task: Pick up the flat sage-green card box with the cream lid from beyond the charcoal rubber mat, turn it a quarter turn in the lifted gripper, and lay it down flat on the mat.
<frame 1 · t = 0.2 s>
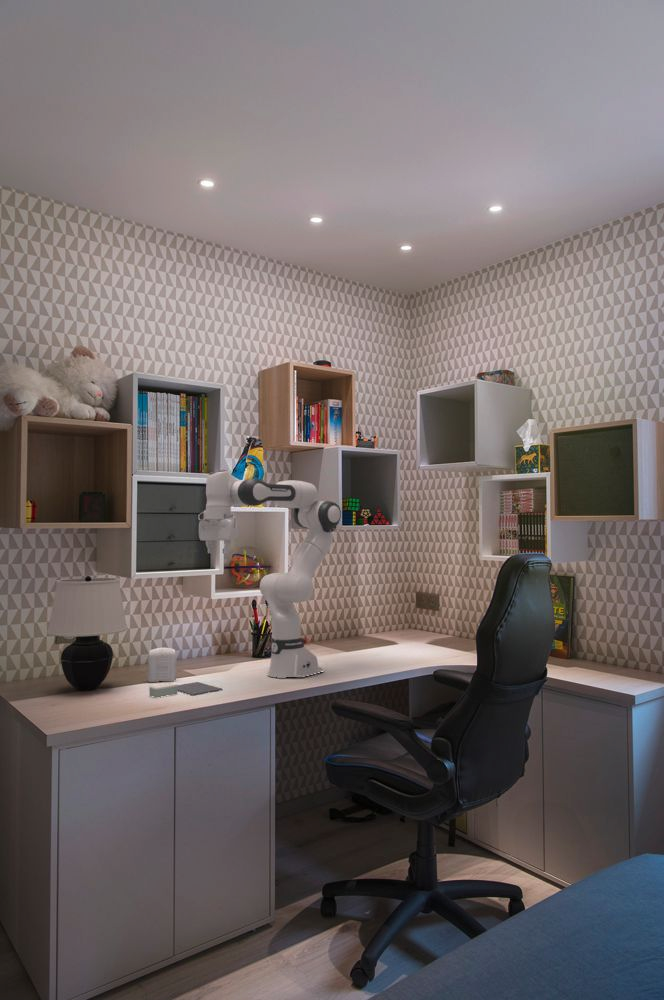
hand: (218, 553, 252), 48 cm above the table, tool pointing down, fingers open, 8 cm apart
table lamp: (87, 690, 248), on the table
card box: (163, 695, 239), on the table
white upright rounded block: (162, 681, 262), on the table
desk mat: (195, 689, 248), on the table
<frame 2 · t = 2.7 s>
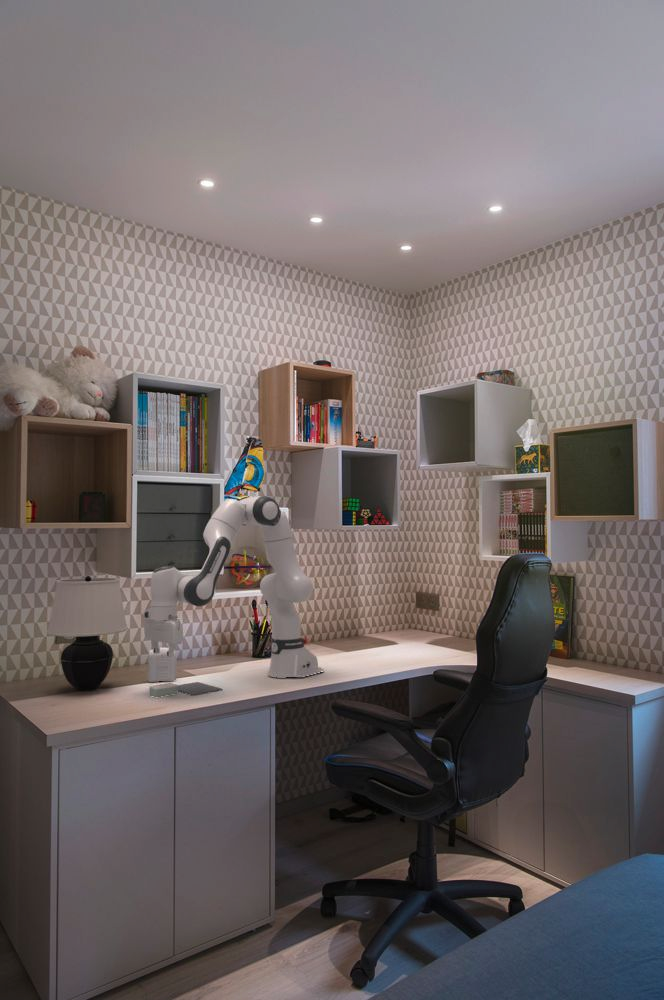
hand: (163, 654, 240), 13 cm above the table, tool pointing down, fingers open, 8 cm apart
nothing on the table moved.
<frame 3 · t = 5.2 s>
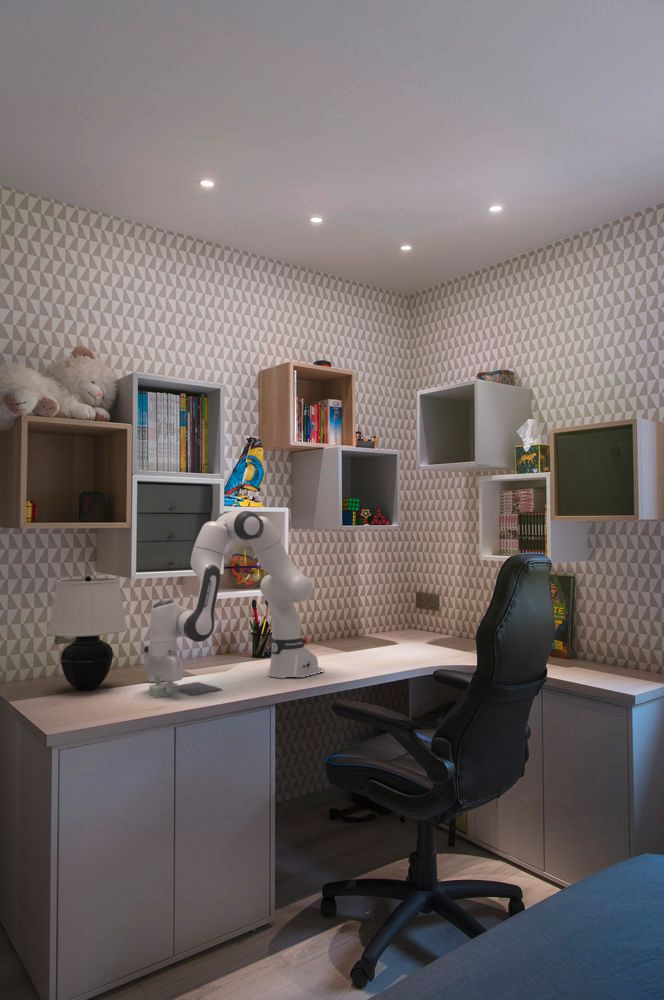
hand: (163, 690, 239), 2 cm above the table, tool pointing down, fingers closed on card box, 4 cm apart
card box: (163, 695, 239), on the table, touching gripper
everything else where it was.
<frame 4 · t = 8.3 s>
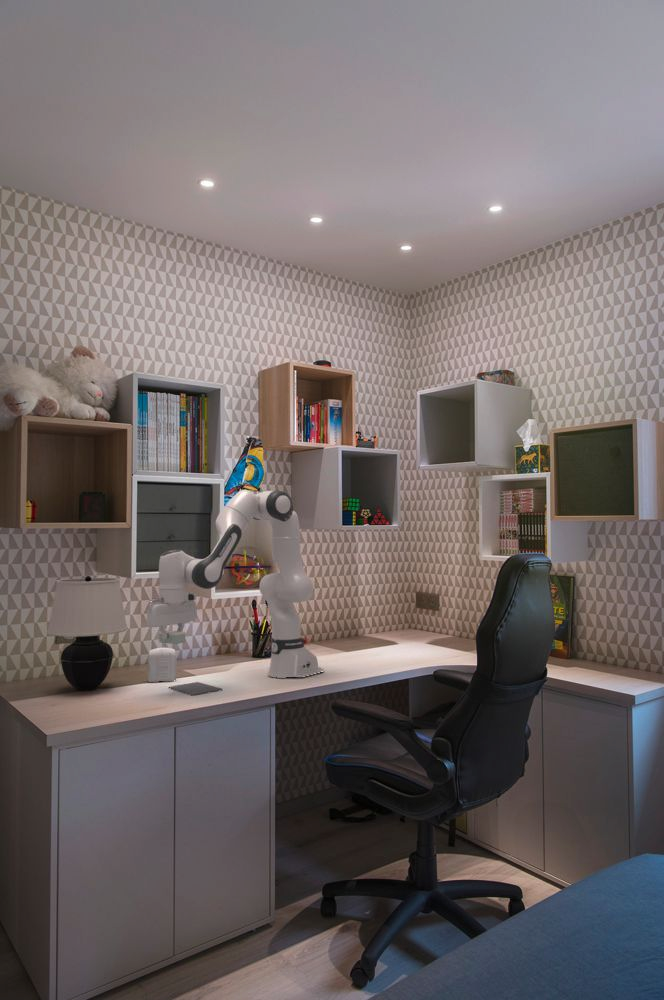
hand: (172, 637, 242), 19 cm above the table, tool pointing down, fingers closed on card box, 4 cm apart
card box: (172, 642, 242), point 17 cm above the table, touching gripper
everything else where it was.
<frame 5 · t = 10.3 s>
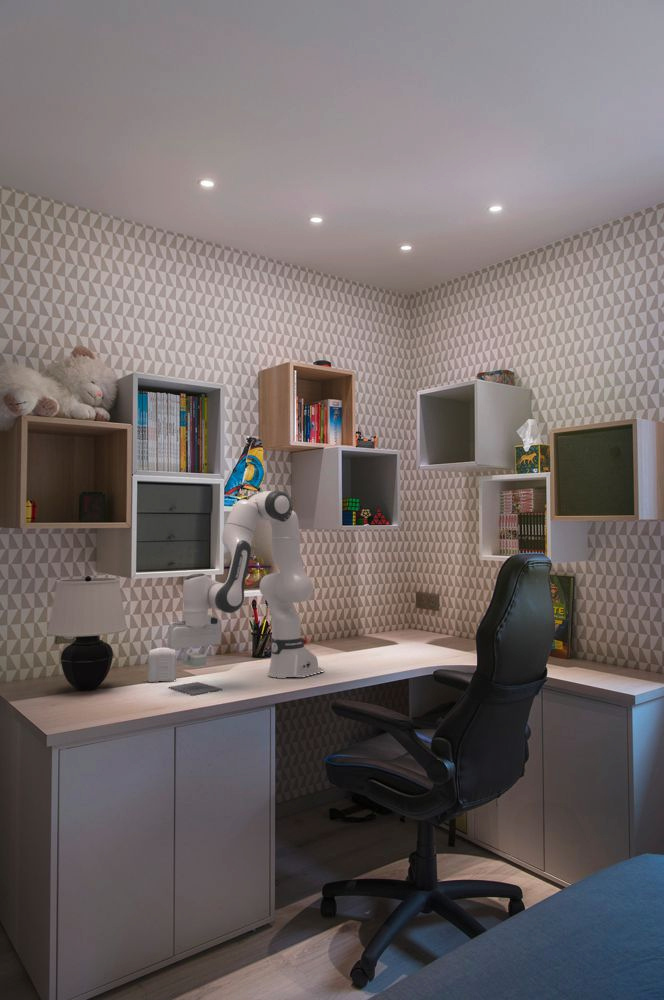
hand: (194, 659, 248), 10 cm above the table, tool pointing down, fingers closed on card box, 4 cm apart
card box: (194, 664, 248), point 9 cm above the table, touching gripper
everything else where it was.
when the fingers open (4 cm above the table, at t = 11.8 s): card box drops 1 cm, resting on desk mat.
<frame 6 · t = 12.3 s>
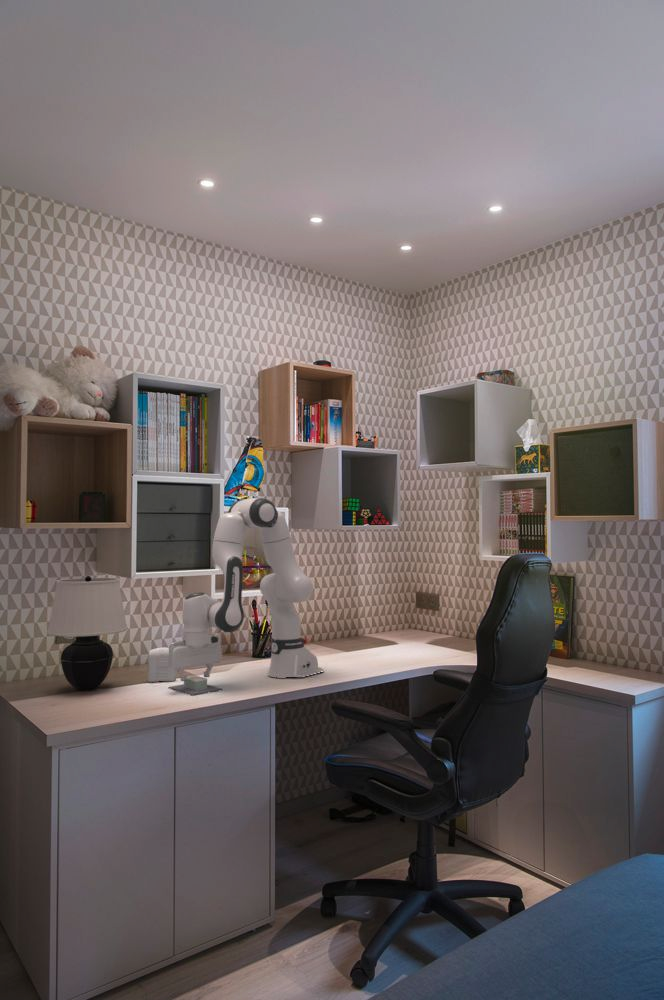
hand: (195, 678, 248), 4 cm above the table, tool pointing down, fingers open, 8 cm apart
card box: (195, 687, 248), resting on desk mat
everything else where it was.
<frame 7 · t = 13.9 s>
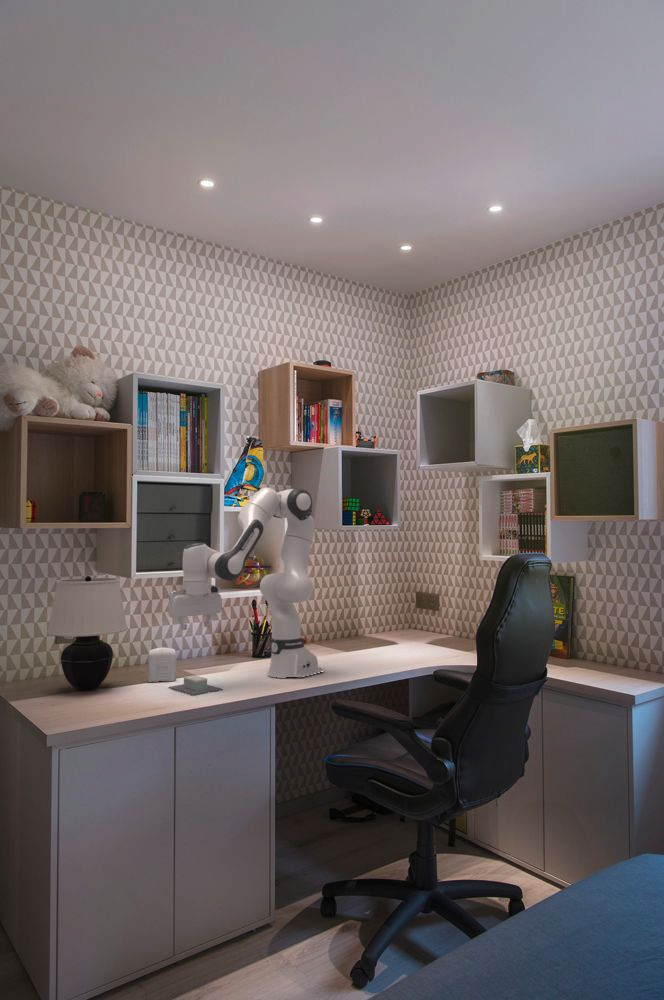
hand: (195, 628, 249), 21 cm above the table, tool pointing down, fingers open, 8 cm apart
nothing on the table moved.
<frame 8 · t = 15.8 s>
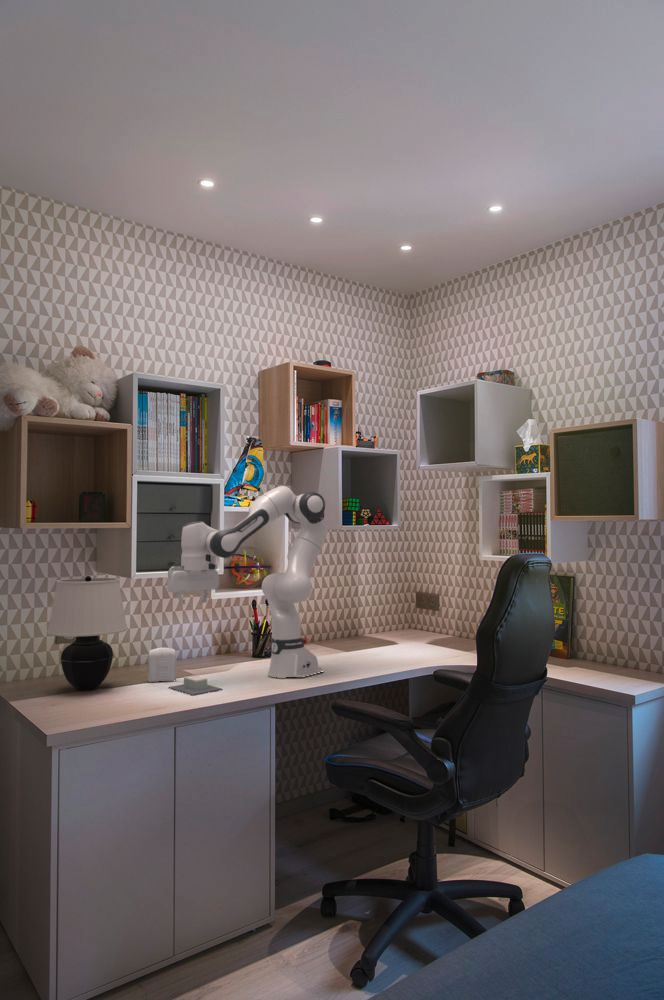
hand: (193, 603, 258), 29 cm above the table, tool pointing down, fingers open, 8 cm apart
nothing on the table moved.
at the end: card box inside the target area (0.1 cm from its centre), point 0.5 cm above the table; card box tilted 0°; the gripper is holding nothing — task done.
